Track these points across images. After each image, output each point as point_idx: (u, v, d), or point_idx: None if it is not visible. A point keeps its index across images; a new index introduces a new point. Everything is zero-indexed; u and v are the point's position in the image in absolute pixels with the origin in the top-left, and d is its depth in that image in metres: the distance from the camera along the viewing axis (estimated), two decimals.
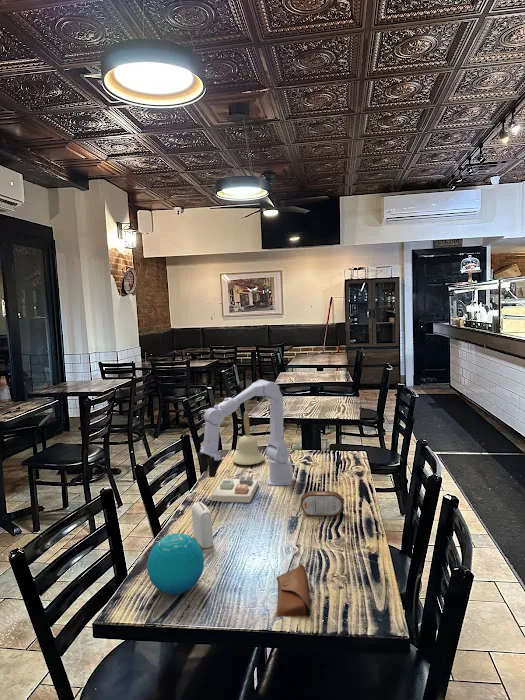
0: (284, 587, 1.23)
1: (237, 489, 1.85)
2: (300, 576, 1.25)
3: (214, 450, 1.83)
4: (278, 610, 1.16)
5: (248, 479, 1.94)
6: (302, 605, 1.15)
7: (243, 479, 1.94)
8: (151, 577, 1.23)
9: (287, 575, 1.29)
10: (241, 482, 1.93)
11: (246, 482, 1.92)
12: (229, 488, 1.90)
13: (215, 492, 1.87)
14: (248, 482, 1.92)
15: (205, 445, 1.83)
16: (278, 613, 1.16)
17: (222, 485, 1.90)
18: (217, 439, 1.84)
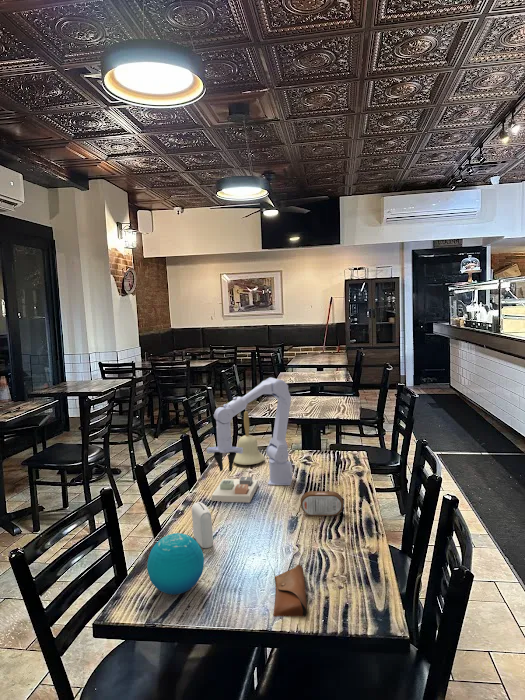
0: (281, 587, 1.23)
1: (237, 489, 1.85)
2: (298, 576, 1.25)
3: (231, 446, 1.90)
4: (275, 610, 1.16)
5: (248, 479, 1.94)
6: (299, 605, 1.15)
7: (243, 479, 1.94)
8: (151, 577, 1.23)
9: (285, 575, 1.29)
10: (241, 482, 1.93)
11: (246, 482, 1.92)
12: (229, 488, 1.90)
13: (215, 492, 1.87)
14: (248, 482, 1.92)
15: (225, 444, 1.87)
16: (275, 613, 1.16)
17: (222, 485, 1.90)
18: (229, 437, 1.89)
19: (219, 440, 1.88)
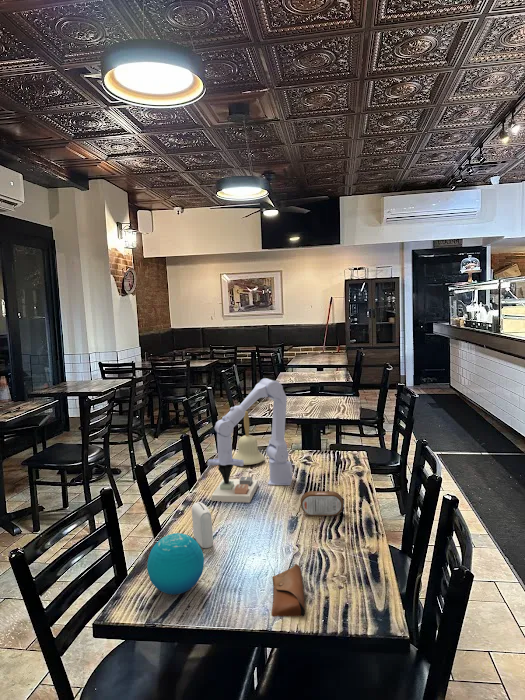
0: (279, 586, 1.23)
1: (237, 489, 1.85)
2: (295, 576, 1.25)
3: (232, 458, 1.91)
4: (273, 610, 1.16)
5: (248, 479, 1.94)
6: (297, 605, 1.15)
7: (243, 479, 1.94)
8: (151, 577, 1.23)
9: (282, 575, 1.29)
10: (241, 482, 1.93)
11: (246, 482, 1.92)
12: (229, 489, 1.90)
13: (215, 492, 1.87)
14: (248, 482, 1.92)
15: (225, 457, 1.88)
16: (273, 613, 1.16)
17: (222, 486, 1.90)
18: (230, 449, 1.89)
19: (220, 452, 1.88)
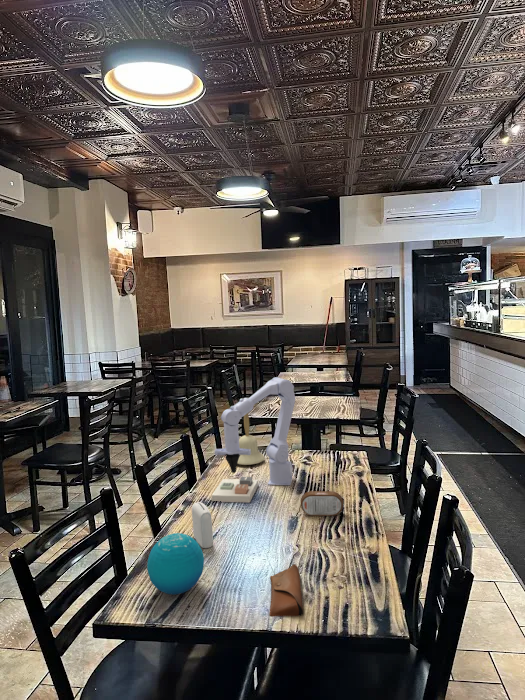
0: (277, 586, 1.23)
1: (237, 489, 1.85)
2: (293, 576, 1.26)
3: None
4: (271, 610, 1.16)
5: (248, 479, 1.94)
6: (295, 605, 1.15)
7: (243, 479, 1.94)
8: (151, 577, 1.23)
9: (280, 575, 1.29)
10: (241, 482, 1.93)
11: (246, 482, 1.92)
12: None
13: (215, 492, 1.87)
14: (248, 482, 1.92)
15: (232, 446, 1.89)
16: (271, 613, 1.16)
17: (222, 487, 1.90)
18: (237, 438, 1.90)
19: (227, 442, 1.89)
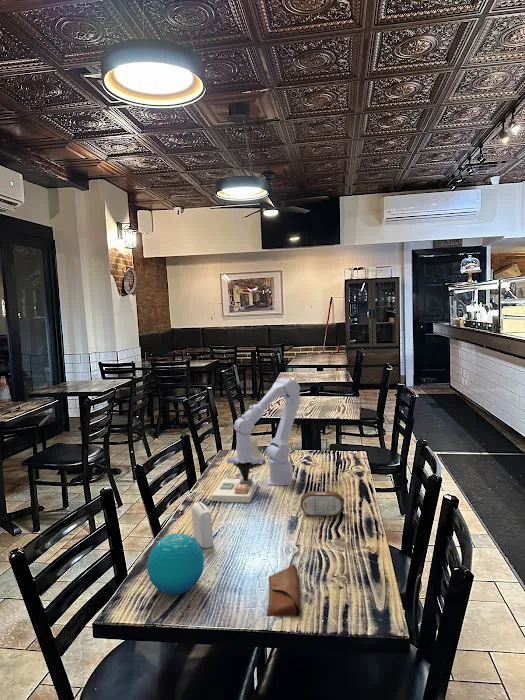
0: (275, 586, 1.23)
1: (237, 489, 1.85)
2: (291, 576, 1.26)
3: (251, 456, 1.93)
4: (268, 610, 1.17)
5: (248, 481, 1.94)
6: (292, 605, 1.15)
7: (243, 481, 1.94)
8: (151, 577, 1.23)
9: (278, 575, 1.29)
10: None
11: None
12: None
13: (215, 492, 1.87)
14: (248, 484, 1.92)
15: (245, 454, 1.91)
16: (268, 613, 1.16)
17: (222, 487, 1.90)
18: (249, 447, 1.92)
19: (239, 450, 1.91)
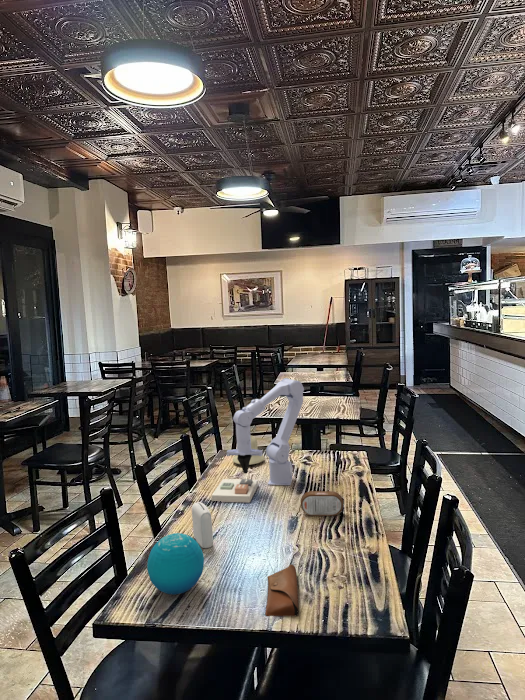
0: (273, 586, 1.23)
1: (237, 489, 1.85)
2: (290, 576, 1.26)
3: None
4: (267, 610, 1.17)
5: (248, 481, 1.94)
6: (291, 605, 1.15)
7: (243, 481, 1.94)
8: (151, 577, 1.23)
9: (277, 575, 1.29)
10: None
11: None
12: None
13: (215, 492, 1.87)
14: (248, 484, 1.92)
15: (244, 447, 1.90)
16: (267, 613, 1.16)
17: (222, 487, 1.90)
18: (249, 439, 1.92)
19: (239, 443, 1.91)
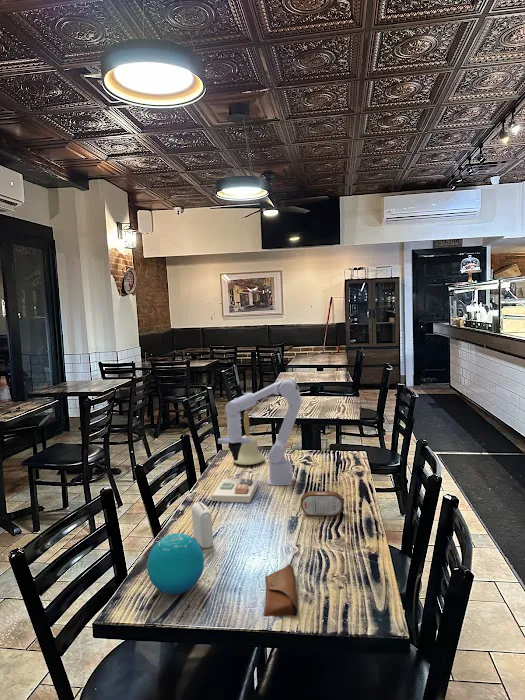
0: (271, 586, 1.23)
1: (237, 489, 1.85)
2: (288, 576, 1.26)
3: None
4: (265, 610, 1.17)
5: (248, 481, 1.94)
6: (289, 605, 1.15)
7: (243, 481, 1.94)
8: (151, 577, 1.23)
9: (275, 575, 1.29)
10: None
11: None
12: None
13: (215, 492, 1.87)
14: (248, 484, 1.92)
15: (235, 435, 2.00)
16: (265, 613, 1.16)
17: (222, 487, 1.90)
18: (236, 429, 2.00)
19: (230, 431, 2.00)
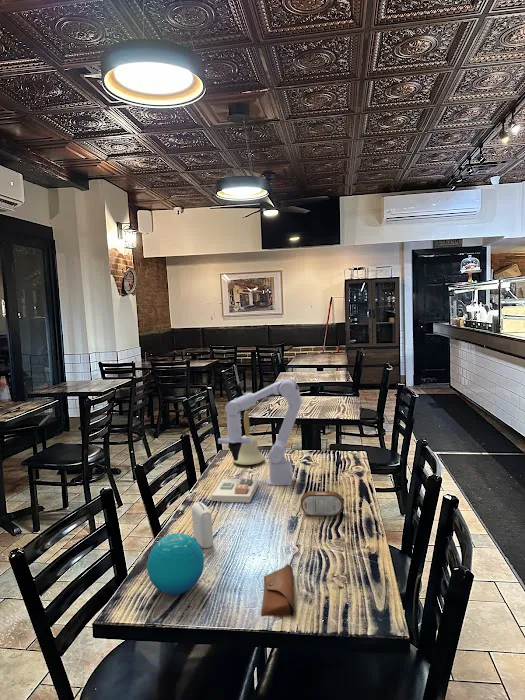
0: (269, 586, 1.23)
1: (237, 489, 1.85)
2: (286, 576, 1.26)
3: None
4: (263, 609, 1.17)
5: (248, 481, 1.94)
6: (286, 605, 1.15)
7: (243, 481, 1.94)
8: (151, 577, 1.23)
9: (274, 575, 1.29)
10: None
11: None
12: None
13: (215, 492, 1.87)
14: (248, 484, 1.92)
15: (235, 435, 2.00)
16: (262, 612, 1.16)
17: (222, 487, 1.90)
18: (236, 429, 2.00)
19: (230, 431, 2.00)
